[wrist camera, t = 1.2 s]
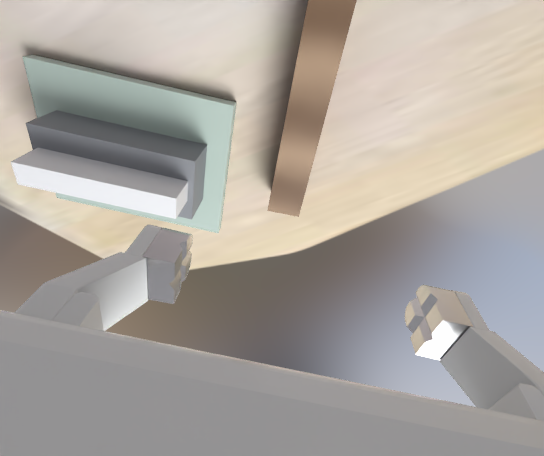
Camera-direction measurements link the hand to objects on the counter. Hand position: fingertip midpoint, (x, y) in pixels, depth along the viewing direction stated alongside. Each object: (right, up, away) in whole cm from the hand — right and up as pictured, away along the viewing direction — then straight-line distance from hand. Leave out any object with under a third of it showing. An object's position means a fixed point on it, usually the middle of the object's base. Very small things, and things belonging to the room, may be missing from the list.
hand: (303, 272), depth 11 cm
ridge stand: (-14, +9, +21) cm, 27 cm away
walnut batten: (+2, +12, +17) cm, 21 cm away
